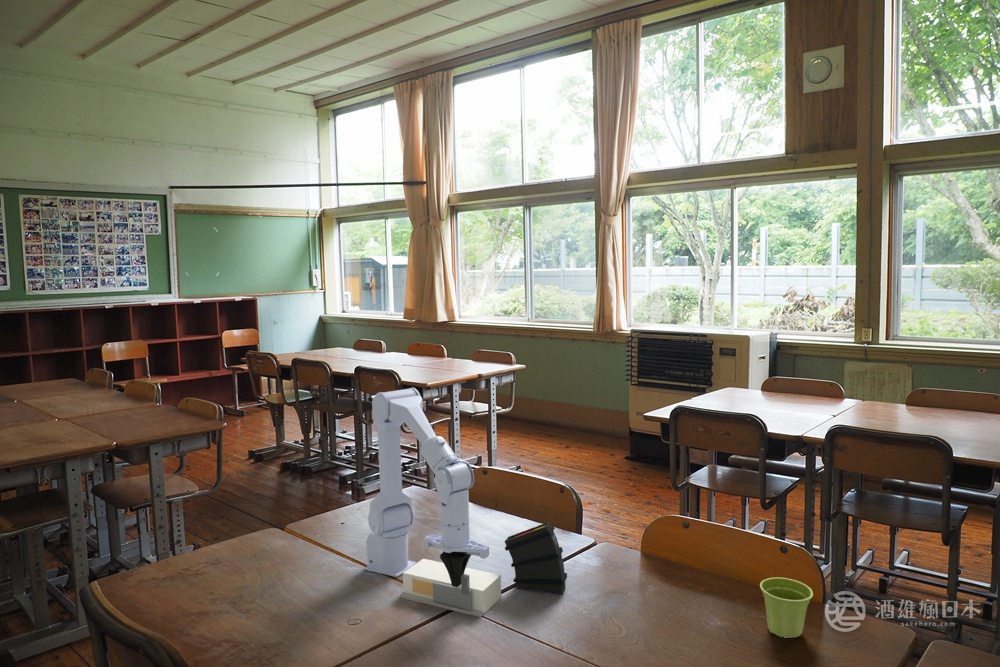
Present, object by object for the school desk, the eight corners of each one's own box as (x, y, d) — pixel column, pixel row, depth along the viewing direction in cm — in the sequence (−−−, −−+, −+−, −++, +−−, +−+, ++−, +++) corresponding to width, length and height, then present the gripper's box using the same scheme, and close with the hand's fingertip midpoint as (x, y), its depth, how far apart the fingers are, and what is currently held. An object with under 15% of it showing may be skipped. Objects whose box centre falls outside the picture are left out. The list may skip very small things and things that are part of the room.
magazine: (576, 591, 147) (546, 526, 148) (524, 607, 151) (495, 545, 152) (580, 583, 150) (551, 520, 151) (529, 600, 155) (501, 539, 156)
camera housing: (399, 597, 149) (399, 575, 149) (423, 579, 157) (423, 558, 157) (480, 617, 140) (479, 593, 139) (501, 597, 148) (500, 575, 148)
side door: (432, 601, 145) (431, 569, 144) (435, 599, 146) (434, 566, 145) (469, 610, 141) (468, 577, 140) (472, 608, 142) (471, 574, 141)
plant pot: (806, 621, 136) (807, 579, 135) (816, 647, 127) (818, 602, 126) (756, 616, 138) (756, 575, 137) (763, 642, 129) (763, 597, 128)
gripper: (414, 522, 141) (417, 586, 142) (476, 533, 134) (478, 600, 135) (433, 511, 147) (435, 572, 148) (493, 521, 140) (494, 585, 142)
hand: (457, 584), depth 142 cm, fingers closed
